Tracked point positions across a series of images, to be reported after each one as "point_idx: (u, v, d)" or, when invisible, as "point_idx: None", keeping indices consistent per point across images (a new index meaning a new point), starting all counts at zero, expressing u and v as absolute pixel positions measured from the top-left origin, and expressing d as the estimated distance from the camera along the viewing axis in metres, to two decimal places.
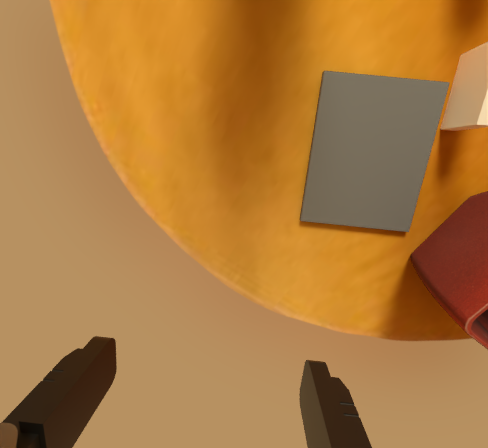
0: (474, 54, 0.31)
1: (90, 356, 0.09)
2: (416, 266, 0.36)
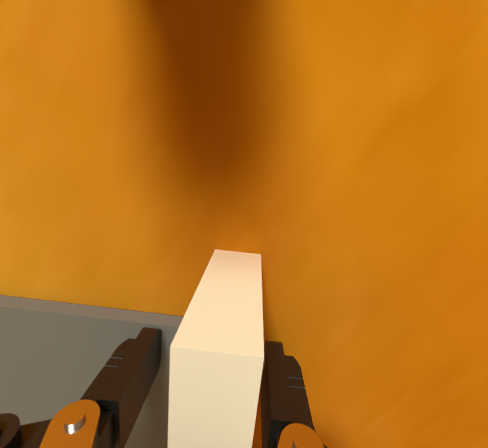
0: None
1: (144, 344, 0.10)
2: None
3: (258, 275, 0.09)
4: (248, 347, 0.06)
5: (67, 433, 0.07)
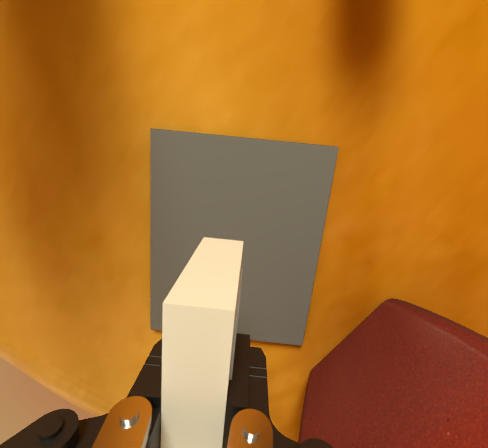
0: None
1: None
2: (303, 406, 0.25)
3: (239, 257, 0.11)
4: (223, 304, 0.07)
5: (124, 428, 0.07)
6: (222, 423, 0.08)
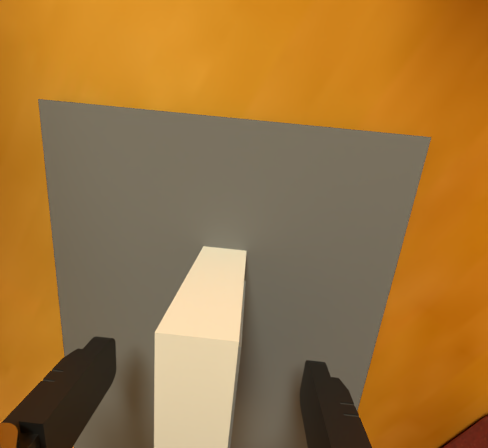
0: None
1: (90, 356, 0.09)
2: None
3: (242, 271, 0.10)
4: (225, 332, 0.06)
5: None
6: None
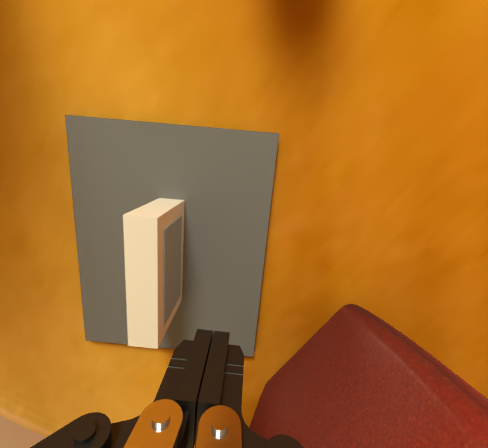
0: None
1: (203, 346, 0.10)
2: (250, 425, 0.22)
3: (175, 205, 0.18)
4: (152, 216, 0.15)
5: (157, 432, 0.07)
6: (156, 281, 0.16)
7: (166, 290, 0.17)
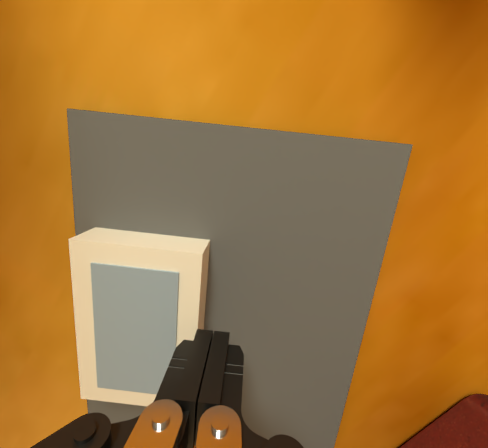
0: None
1: (203, 346, 0.10)
2: None
3: (154, 247, 0.11)
4: (78, 237, 0.12)
5: (158, 432, 0.07)
6: (75, 317, 0.12)
7: (102, 347, 0.13)
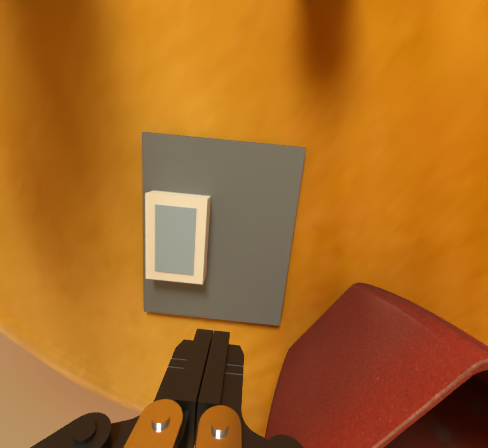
0: None
1: (204, 346, 0.10)
2: (279, 378, 0.28)
3: (184, 196, 0.25)
4: (149, 192, 0.25)
5: (158, 432, 0.07)
6: (145, 233, 0.26)
7: (158, 248, 0.26)
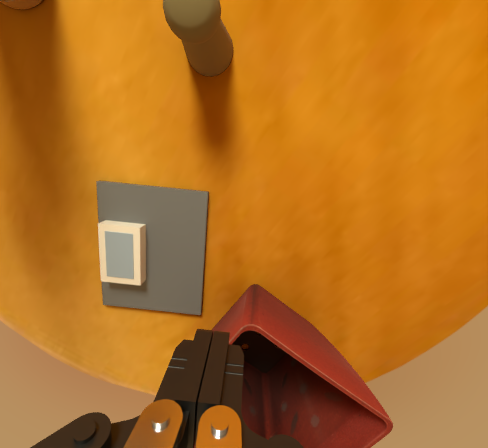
0: None
1: (203, 346, 0.10)
2: None
3: (124, 226, 0.36)
4: (100, 223, 0.36)
5: (158, 432, 0.07)
6: (99, 250, 0.37)
7: (108, 260, 0.37)
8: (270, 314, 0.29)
